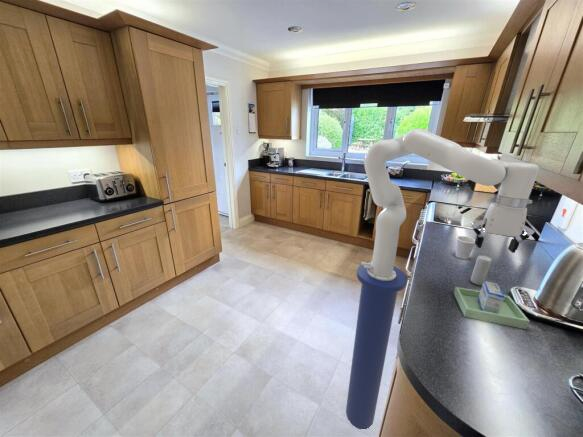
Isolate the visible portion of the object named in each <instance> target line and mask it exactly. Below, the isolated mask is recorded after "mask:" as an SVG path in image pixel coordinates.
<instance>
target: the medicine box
mask: <svg viewBox="0 0 583 437" xmlns="http://www.w3.org/2000/svg"><path fill="white" fill-rule="evenodd" d="M499 285H500V284H499V283H495V282H492V281H487V280H485V281H484V283H483V285H481V288H480V290H479V291H480V294H479V297H478V302H479V305H480V307H481V310H482V311H486V312H491V313H496V314H498V313H499V310H500V308H501V305H502V302H503V300H504V295H505V294H504V293H503V291H502V289H501V287H500V286H499Z"/></svg>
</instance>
